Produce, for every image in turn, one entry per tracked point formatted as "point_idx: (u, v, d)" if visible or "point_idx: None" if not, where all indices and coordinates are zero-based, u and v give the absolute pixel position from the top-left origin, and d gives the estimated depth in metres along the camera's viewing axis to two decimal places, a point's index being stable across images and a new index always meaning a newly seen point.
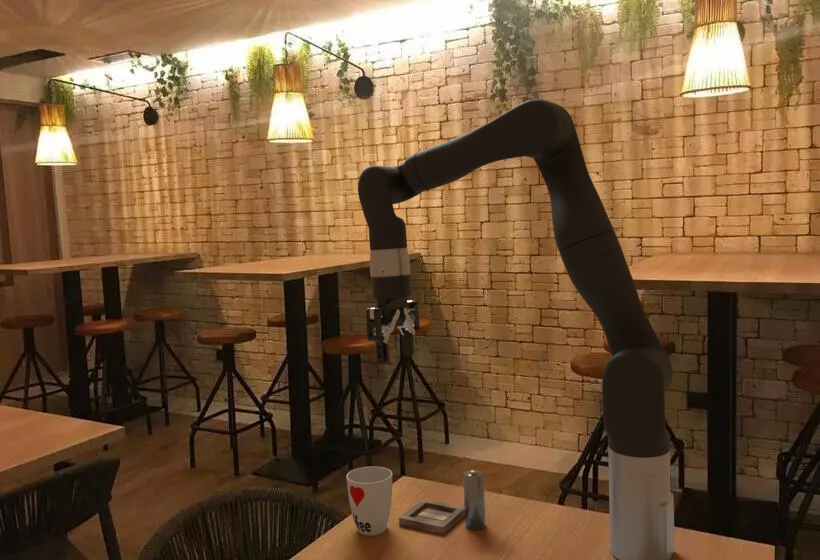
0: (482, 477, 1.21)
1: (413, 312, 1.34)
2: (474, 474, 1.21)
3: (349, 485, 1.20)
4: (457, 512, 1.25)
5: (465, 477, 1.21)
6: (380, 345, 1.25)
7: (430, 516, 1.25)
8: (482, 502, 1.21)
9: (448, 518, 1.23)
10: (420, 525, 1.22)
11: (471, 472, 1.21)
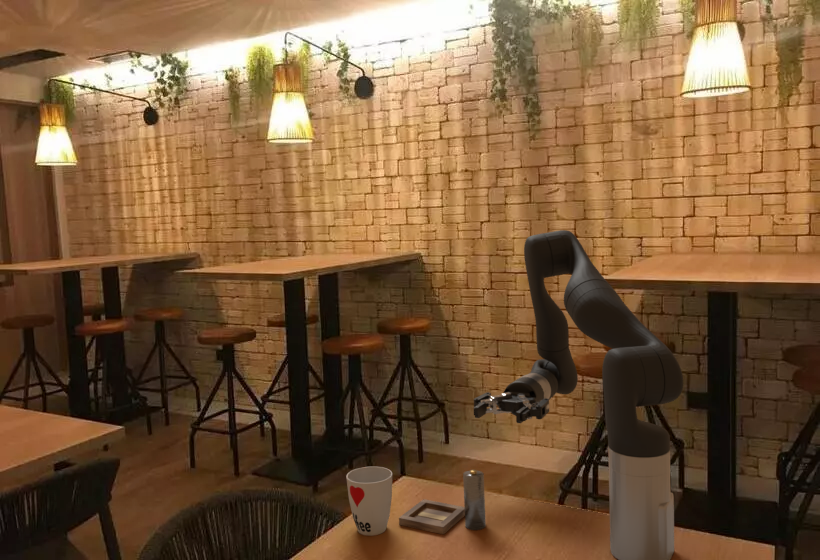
0: (482, 477, 1.21)
1: None
2: (474, 474, 1.21)
3: (349, 485, 1.20)
4: (457, 512, 1.25)
5: (465, 477, 1.21)
6: None
7: (430, 516, 1.25)
8: (482, 502, 1.21)
9: (448, 518, 1.23)
10: (420, 525, 1.22)
11: (471, 472, 1.21)
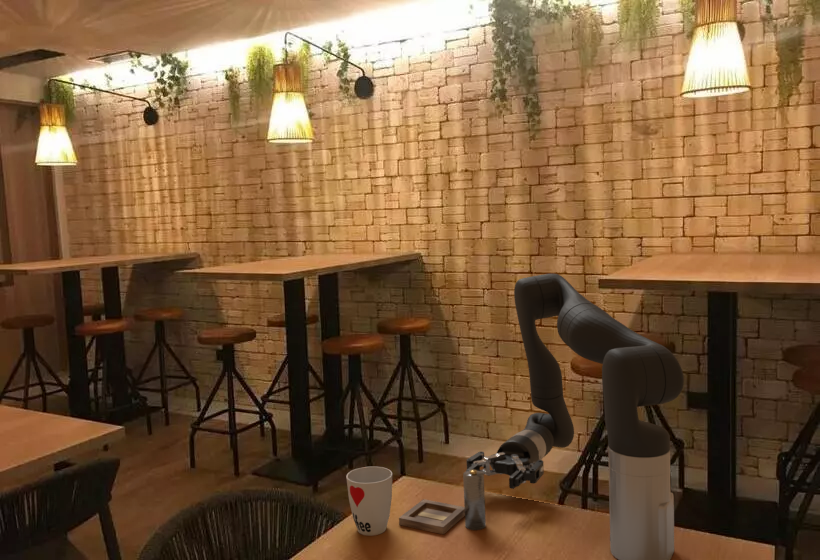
0: (482, 477, 1.21)
1: None
2: (474, 474, 1.21)
3: (349, 485, 1.20)
4: (457, 512, 1.25)
5: (465, 477, 1.21)
6: None
7: (430, 516, 1.25)
8: (482, 502, 1.21)
9: (448, 518, 1.23)
10: (420, 525, 1.22)
11: (471, 472, 1.21)
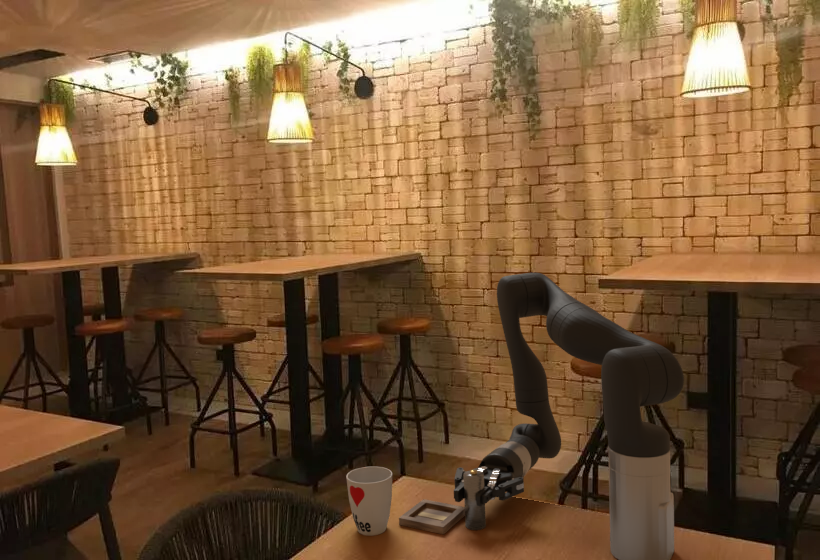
0: (482, 477, 1.21)
1: None
2: (474, 474, 1.21)
3: (349, 485, 1.20)
4: (457, 512, 1.25)
5: (465, 477, 1.21)
6: None
7: (430, 516, 1.25)
8: None
9: (448, 518, 1.23)
10: (420, 525, 1.22)
11: (471, 472, 1.21)
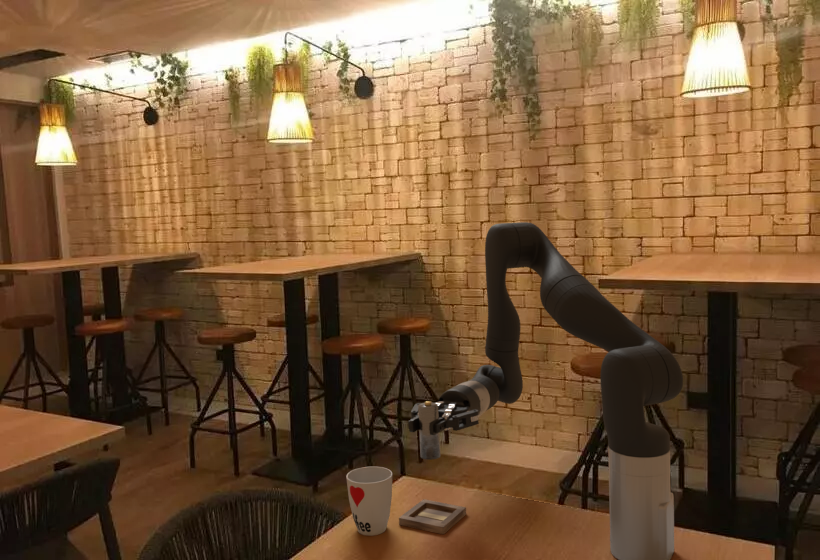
0: (436, 408, 1.23)
1: None
2: (428, 405, 1.23)
3: (349, 485, 1.20)
4: (457, 512, 1.25)
5: (420, 408, 1.23)
6: None
7: (430, 516, 1.25)
8: None
9: (448, 518, 1.23)
10: (420, 525, 1.22)
11: (426, 403, 1.23)
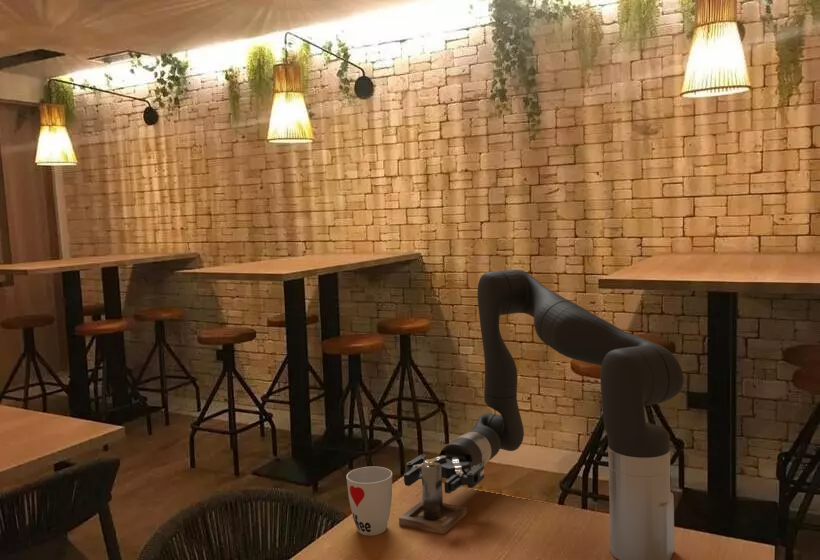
0: (439, 468, 1.24)
1: None
2: (432, 465, 1.24)
3: (349, 485, 1.20)
4: (457, 512, 1.25)
5: (423, 468, 1.24)
6: None
7: None
8: (439, 493, 1.24)
9: (448, 518, 1.23)
10: (420, 525, 1.22)
11: (429, 463, 1.24)
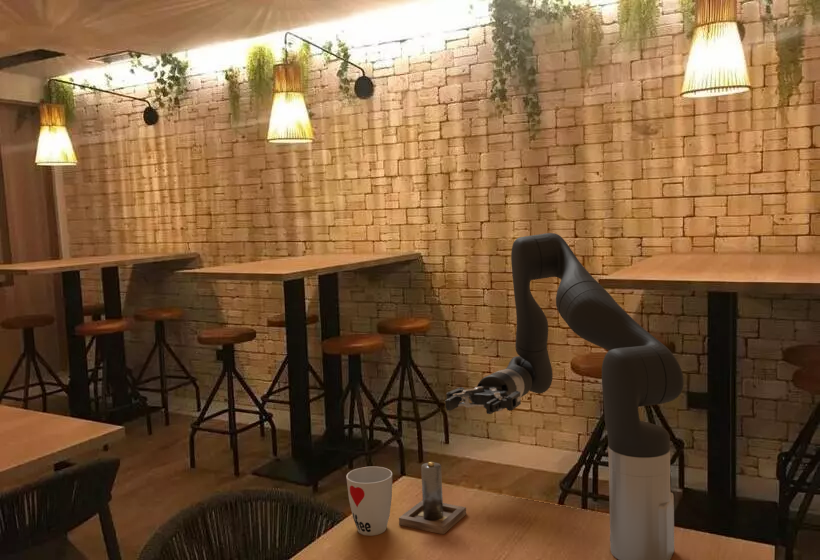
0: (439, 469, 1.24)
1: None
2: (431, 466, 1.24)
3: (349, 485, 1.20)
4: (457, 512, 1.25)
5: (423, 469, 1.24)
6: None
7: None
8: (439, 493, 1.24)
9: (448, 518, 1.23)
10: (420, 525, 1.22)
11: (429, 464, 1.24)
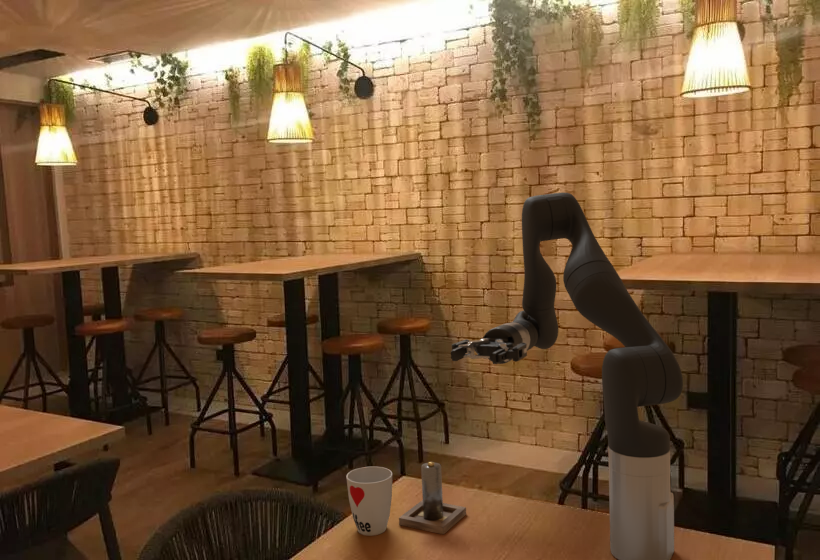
0: (439, 469, 1.24)
1: None
2: (431, 466, 1.24)
3: (349, 485, 1.20)
4: (457, 512, 1.25)
5: (423, 469, 1.24)
6: None
7: None
8: (439, 493, 1.24)
9: (448, 518, 1.23)
10: (420, 525, 1.22)
11: (429, 464, 1.24)
